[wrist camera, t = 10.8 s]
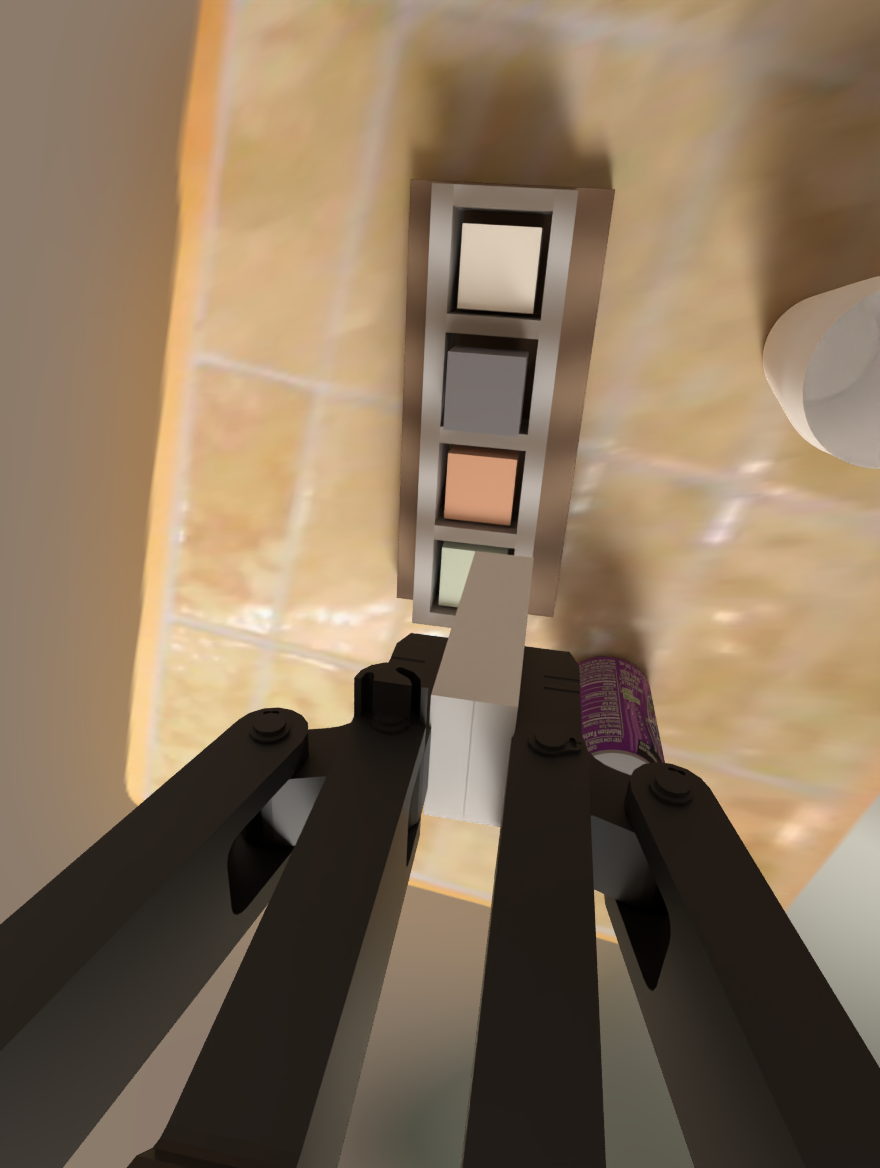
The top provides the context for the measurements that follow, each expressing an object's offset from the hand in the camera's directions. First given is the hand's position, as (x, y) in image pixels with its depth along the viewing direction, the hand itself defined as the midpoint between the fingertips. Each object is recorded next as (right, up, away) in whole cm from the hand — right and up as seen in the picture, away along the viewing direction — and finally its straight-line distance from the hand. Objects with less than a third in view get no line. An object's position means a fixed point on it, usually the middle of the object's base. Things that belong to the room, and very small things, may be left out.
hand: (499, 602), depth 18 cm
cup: (+22, +15, +25) cm, 37 cm away
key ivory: (+2, +20, +24) cm, 31 cm away
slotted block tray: (+2, +12, +30) cm, 33 cm away
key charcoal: (+1, +13, +24) cm, 27 cm away
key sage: (+1, +2, +32) cm, 32 cm away
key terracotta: (+2, +8, +29) cm, 30 cm away
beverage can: (+12, -8, +38) cm, 41 cm away
